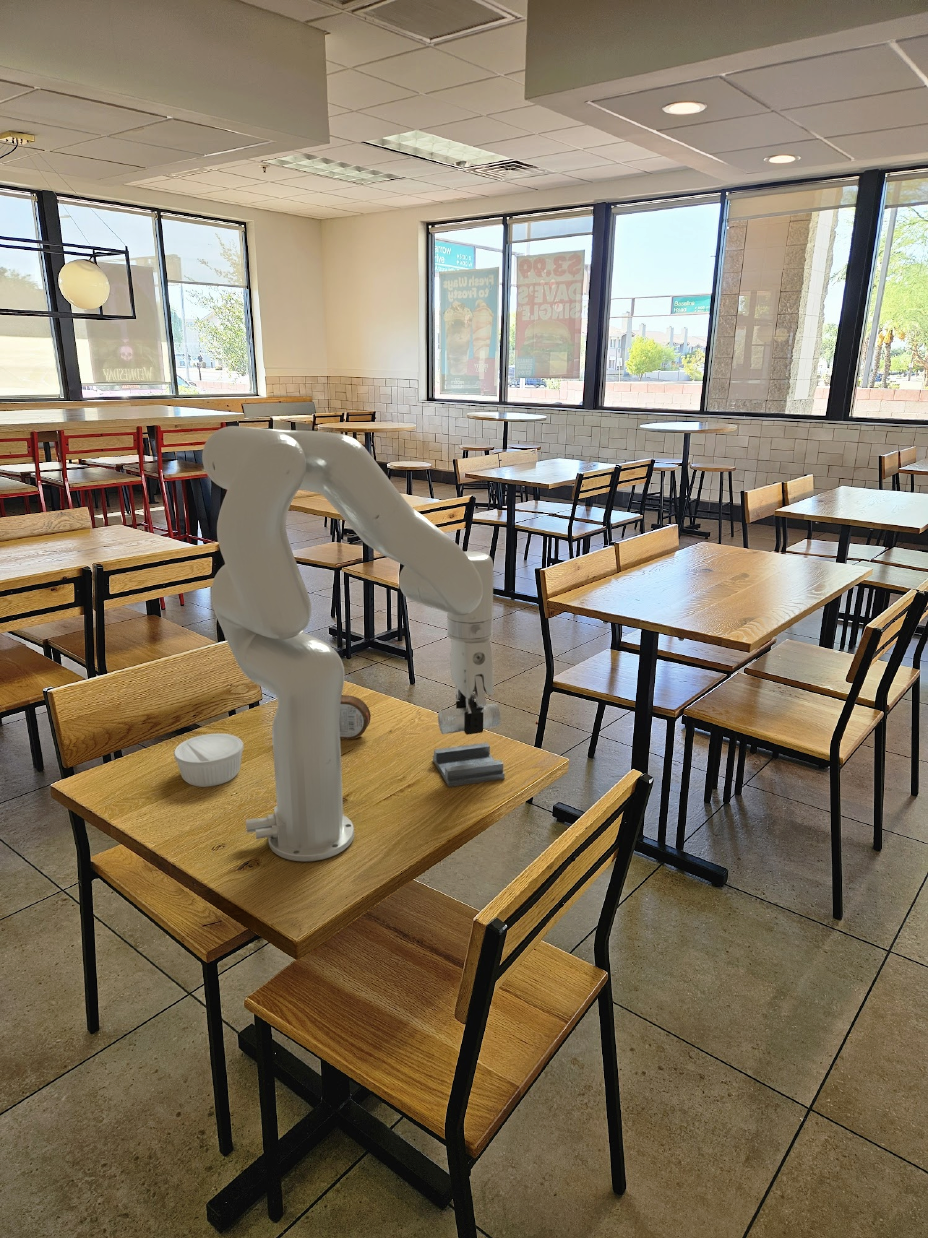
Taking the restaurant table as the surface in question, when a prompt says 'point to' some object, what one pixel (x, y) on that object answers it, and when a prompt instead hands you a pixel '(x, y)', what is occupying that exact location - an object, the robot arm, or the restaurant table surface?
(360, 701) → the tin
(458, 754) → the v block
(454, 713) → the clear cylinder
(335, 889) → the restaurant table surface
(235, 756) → the ramekin
